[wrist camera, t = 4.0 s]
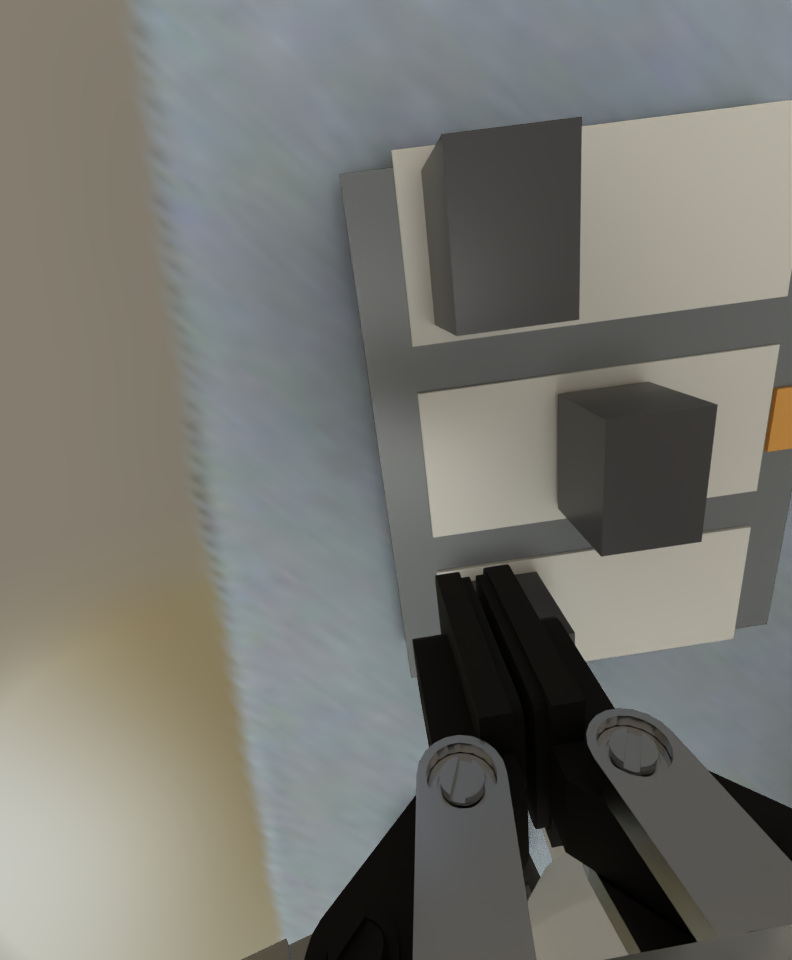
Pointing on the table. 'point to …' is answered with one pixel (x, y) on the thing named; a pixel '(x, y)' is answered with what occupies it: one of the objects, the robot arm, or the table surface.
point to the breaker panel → (580, 355)
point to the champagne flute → (569, 914)
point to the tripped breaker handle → (634, 465)
